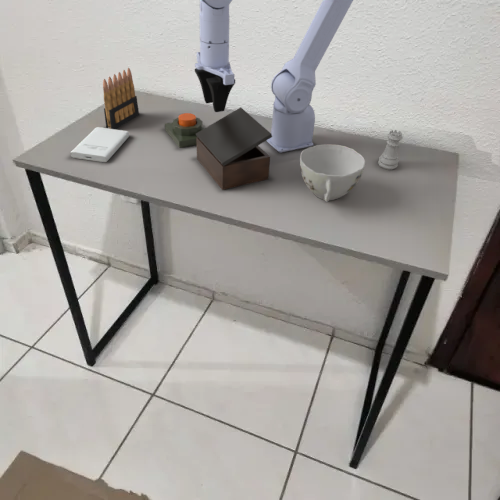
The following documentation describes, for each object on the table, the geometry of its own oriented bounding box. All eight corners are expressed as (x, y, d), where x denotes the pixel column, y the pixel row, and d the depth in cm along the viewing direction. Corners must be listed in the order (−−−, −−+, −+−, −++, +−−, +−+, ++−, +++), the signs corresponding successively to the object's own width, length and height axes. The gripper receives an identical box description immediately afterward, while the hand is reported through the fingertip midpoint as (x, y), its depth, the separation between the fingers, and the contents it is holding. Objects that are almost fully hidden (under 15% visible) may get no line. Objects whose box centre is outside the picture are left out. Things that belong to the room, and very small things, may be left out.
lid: (241, 110, 101) (240, 107, 101) (272, 136, 92) (271, 133, 92) (196, 136, 100) (195, 133, 100) (223, 166, 91) (222, 163, 90)
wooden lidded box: (239, 150, 108) (240, 129, 104) (268, 179, 98) (270, 156, 95) (196, 159, 104) (196, 137, 100) (222, 190, 94) (222, 166, 91)
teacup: (299, 173, 101) (304, 139, 96) (358, 181, 99) (366, 147, 94) (290, 212, 90) (294, 175, 84) (356, 222, 88) (364, 185, 83)
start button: (176, 121, 110) (176, 114, 109) (192, 118, 112) (192, 111, 111) (182, 128, 108) (182, 121, 107) (198, 125, 109) (198, 118, 108)
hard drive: (129, 137, 110) (106, 162, 100) (96, 133, 111) (71, 157, 101) (128, 131, 109) (105, 156, 99) (95, 126, 110) (69, 150, 100)
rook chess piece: (399, 163, 106) (408, 130, 101) (395, 172, 103) (404, 139, 98) (379, 158, 108) (387, 126, 102) (375, 167, 104) (383, 134, 99)
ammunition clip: (133, 113, 120) (127, 65, 112) (139, 115, 120) (134, 67, 112) (106, 129, 113) (98, 79, 105) (112, 131, 112) (104, 81, 104)
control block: (165, 130, 114) (163, 116, 112) (195, 124, 117) (195, 111, 115) (179, 148, 107) (178, 134, 105) (211, 142, 110) (211, 128, 108)
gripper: (181, 31, 95) (184, 96, 104) (210, 53, 85) (211, 123, 94) (213, 28, 98) (214, 92, 106) (245, 49, 88) (242, 117, 97)
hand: (214, 106), depth 100 cm, fingers open, 4 cm apart
